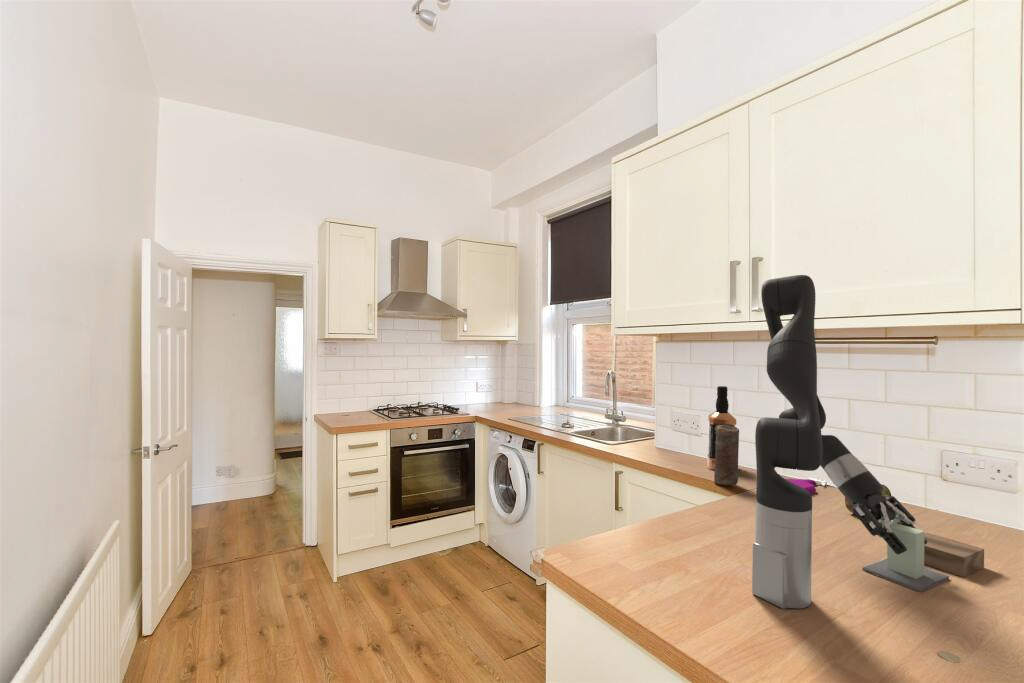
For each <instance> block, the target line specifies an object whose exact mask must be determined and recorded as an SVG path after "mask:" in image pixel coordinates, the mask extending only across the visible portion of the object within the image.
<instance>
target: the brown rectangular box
mask: <svg viewBox="0 0 1024 683" xmlns="http://www.w3.org/2000/svg"><path fill="white" fill-rule="evenodd" d="M924 538H925V539H926V540H927V544H925V545H924V565H926V566H930V567H932V568H935V569H938V570H941V571H944V572H948V573H950V574H953V575H956V576H959V577H963V578H964V577H968V576H969V575H971V574H974V573H975V572H978V571H980V570H982V569H984V568H985V548H983V547H978V546H975V545H972V544H968V543H964V542H961V541H957V540H954V539H950V538H947V537H943V536H940V535H936V534H934V533H929V532H924Z"/></svg>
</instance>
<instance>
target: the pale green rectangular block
mask: <svg viewBox="0 0 1024 683" xmlns="http://www.w3.org/2000/svg"><path fill="white" fill-rule="evenodd" d="M889 526H890V529H891V531H892V532H893V533H894V534H895V535H896V536H897V537H898V539H899V540H900V541H901V542H902V543H903V544H904V546H905V547H906V548H907V551H905V552H903V553H901V554H896V553H895V552H894V551H893V550H892V548H891V547H890V546H889V545H888V544H887V543H886V544H887V545H886V546H887V549H886V550H887V552H886V553H887V554H886V555H887V556H886V557H887V558H886V559H887V569H890V570H893V571H895V572H898V573H901V574H904V575H907V576H909V577H912V578H915V579H917V578H919V577H921V576H923V575H924V568H925V564H924V534H925V530H921V529H918V528H916V527H915V528H916V529H915V528H911V527H908V526H904V525H901V524H897V523H894V524H889ZM892 532H891V533H892Z"/></svg>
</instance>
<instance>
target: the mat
mask: <svg viewBox="0 0 1024 683" xmlns="http://www.w3.org/2000/svg"><path fill="white" fill-rule="evenodd" d="M863 570H865V571H864V572H866V571H868V572H870V573H869V574H871V573H872V574H871V575H874V574H875V575H874V576H876V575H878V576H877V577H879V576H880V578H882V577H883V578H882V579H884V578H885V580H887V579H888V580H887V581H890V582H892V581H893V583H895V584H897V585H900V584H901V586H903V587H906V588H909V589H911V590H914V591H917V592H919V593H922V592H924V591H926V590H928V589H931V588H933V587H935V586H937V585H940V584H942V583H944V582H945V581H947V580H949V579H950V576H949V575H946V574H944V573H941V572H937V571H935V570H932V569H928V568H926V567H924V575H923V576H921V577H919V578H917V579H915V578H912V577H909V576H907V575H904V574H901V573H898V572H895V571H893V570H890V569H887V558H885V559H882V560H879V561H877V562H874V563H871V564H868V565H866V566H863V567H862V571H863ZM868 572H867V573H868Z"/></svg>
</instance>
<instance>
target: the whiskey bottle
mask: <svg viewBox="0 0 1024 683" xmlns="http://www.w3.org/2000/svg"><path fill="white" fill-rule="evenodd" d="M716 389H717V390H716V392H717V393H716V396H717V398H716V400H715V411H714V412H712V413H711V414H709V415H708V417H707V420H708V423H709V431H708V433H709V434H708V453H707V457H706V458H707V459H706V464H707V467H708V468H707V469H709V470H713V471H715V453H716V428H717V426H718V425H729V426H734V427H736V425H737V418H735V417H734V416H733V415H732V414H731V413H730V412H729V407H730V406H729V400H728V391H729V390H728V386H726V385H725V386H724V385H718V386H717V387H716Z"/></svg>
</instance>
